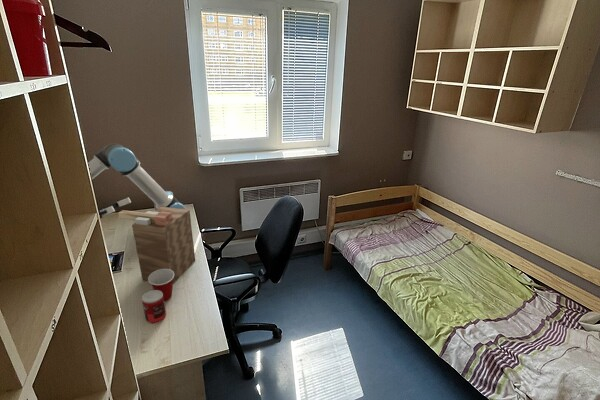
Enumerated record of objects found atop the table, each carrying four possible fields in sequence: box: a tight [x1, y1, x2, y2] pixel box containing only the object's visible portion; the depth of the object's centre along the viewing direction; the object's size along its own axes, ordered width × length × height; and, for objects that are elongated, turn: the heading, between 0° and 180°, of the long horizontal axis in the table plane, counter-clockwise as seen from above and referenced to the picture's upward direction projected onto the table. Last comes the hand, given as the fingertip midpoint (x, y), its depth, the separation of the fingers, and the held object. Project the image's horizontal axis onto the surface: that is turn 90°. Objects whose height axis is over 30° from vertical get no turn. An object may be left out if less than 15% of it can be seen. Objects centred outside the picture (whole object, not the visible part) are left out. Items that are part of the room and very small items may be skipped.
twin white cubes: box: [134, 210, 159, 226], centre depth 152 cm, size 9×6×2 cm, turn 168°
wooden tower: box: [131, 207, 196, 285], centre depth 162 cm, size 22×16×30 cm
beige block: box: [118, 209, 173, 226], centre depth 152 cm, size 6×25×4 cm, turn 78°
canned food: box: [141, 289, 167, 324], centre depth 134 cm, size 8×8×11 cm
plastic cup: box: [147, 269, 174, 303], centre depth 145 cm, size 11×11×12 cm
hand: (121, 204), depth 159 cm, fingers open, 13 cm apart
